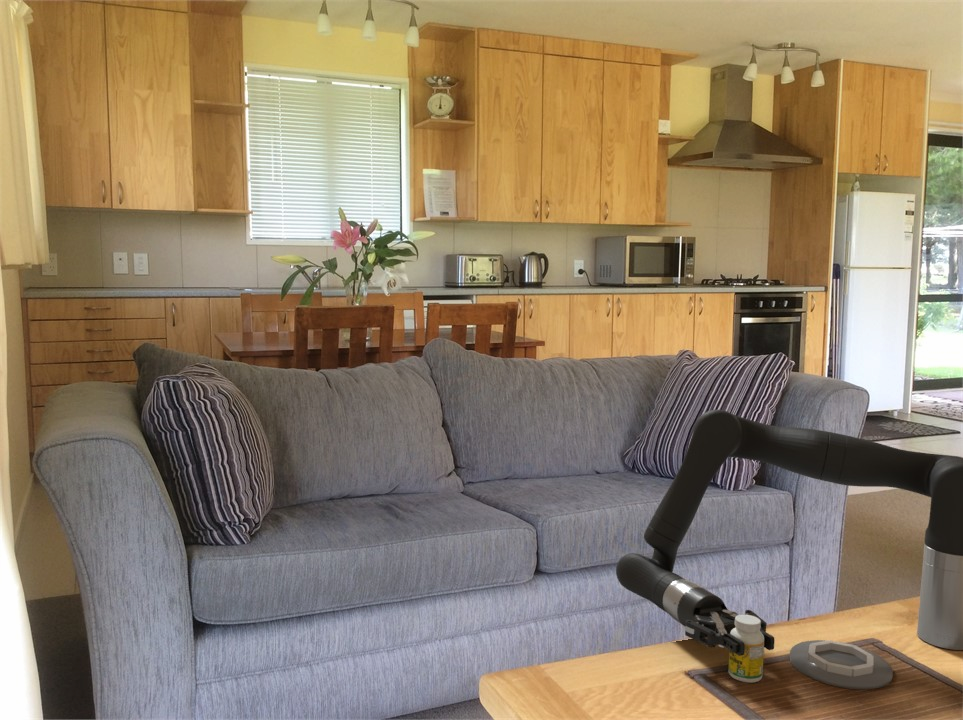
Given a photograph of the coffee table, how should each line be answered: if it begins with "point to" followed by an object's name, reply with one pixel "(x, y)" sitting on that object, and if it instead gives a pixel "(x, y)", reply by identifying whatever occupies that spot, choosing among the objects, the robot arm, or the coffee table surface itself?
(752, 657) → the supplement bottle
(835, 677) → the ringed coaster
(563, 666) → the coffee table surface
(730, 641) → the robot arm
